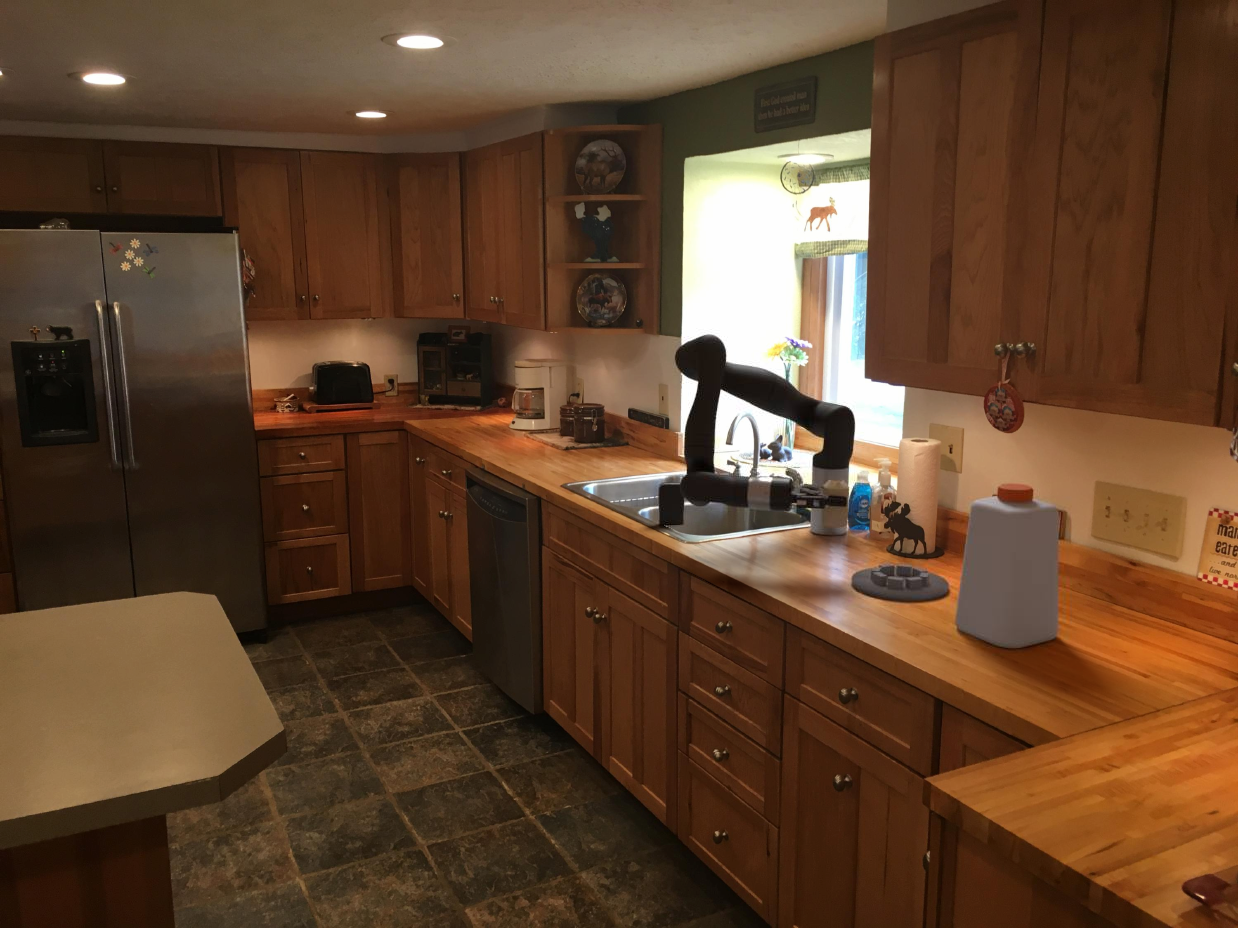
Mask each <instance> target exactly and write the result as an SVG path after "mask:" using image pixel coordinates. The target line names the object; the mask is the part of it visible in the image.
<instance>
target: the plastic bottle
mask: <svg viewBox="0 0 1238 928" xmlns="http://www.w3.org/2000/svg"><path fill="white" fill-rule="evenodd" d="M996 494H997V495H994V496H988V497H982V498H978V499H975V500H974V501H973V502H972V503H971V505H970V509H969V517H968V518H969V519H968V524H967V525H968V526H967V531H966V537H965V545H964V552H963V553H964V554H963V559H962V567H961V575H960V582H959V590H958V598H957V602H956V603H957V605H956V611H955V620H954V623H955V626H956V627H957V629H958V630H959V631H960V632H962V633H964V634H967V635H969V636H972V637H974V638H977V639H978V640H982V641H984V642H986V643H989V644H990V645H993V646H996V647H1000V648H1005V649H1021V648H1025V647H1030V646H1033V645H1037V644H1041V643H1044V642H1046V643H1047V642H1049V641H1052V640H1054V639H1055V638H1056V637H1057V636H1058V634H1059V633H1058V632H1059V509H1058V507H1057V506H1056V505H1054V504H1053V503H1049V502H1046V501H1043V500H1039V499H1035V498H1034V488H1033V487H1032V486H1030V485H1027V484H1021V483H1003V484H1002V483H1001V484H1000V485H999V486H998V487H997V493H996Z"/></svg>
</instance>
